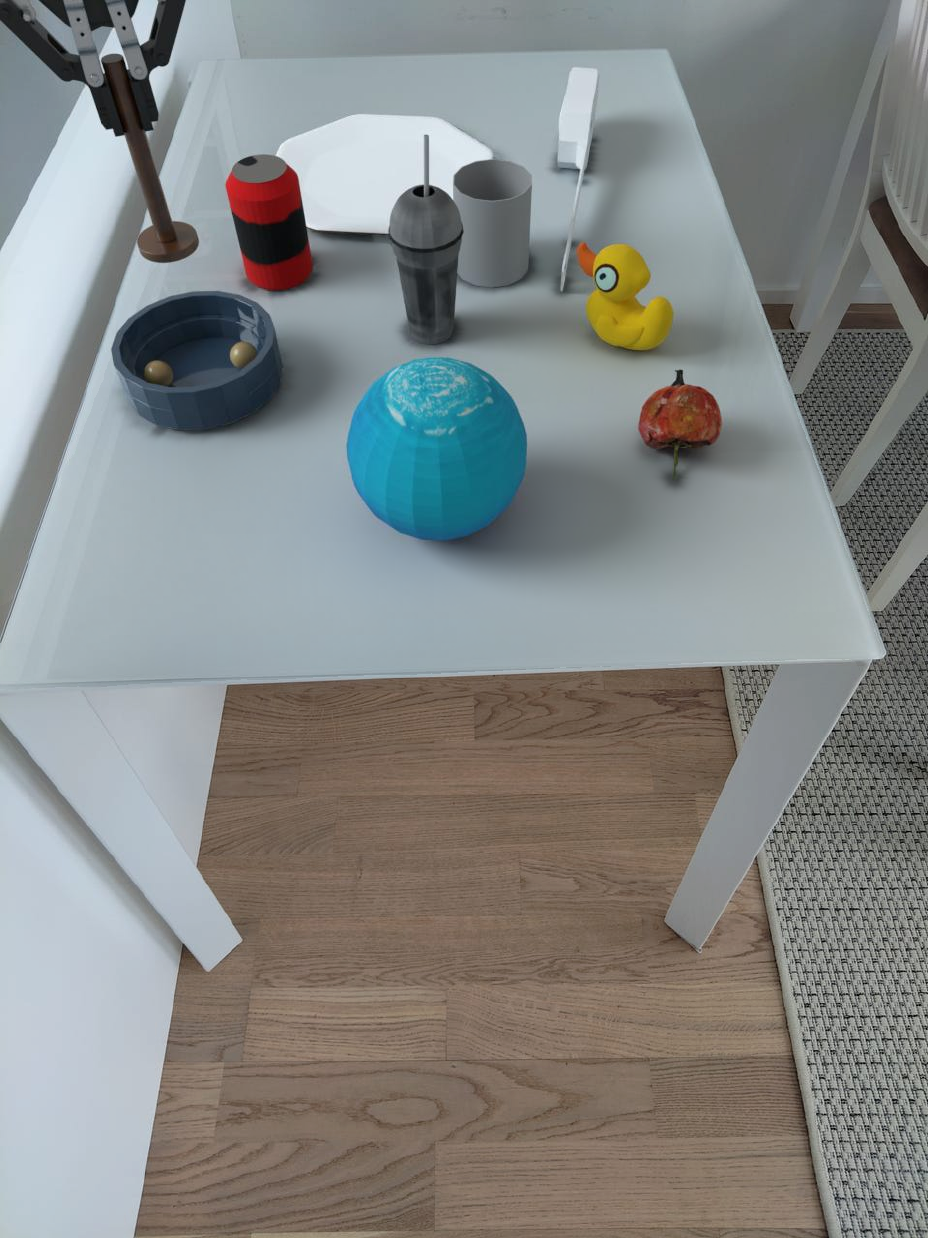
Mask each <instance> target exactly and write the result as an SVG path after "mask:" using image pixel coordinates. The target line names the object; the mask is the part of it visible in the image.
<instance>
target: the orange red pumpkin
mask: <svg viewBox="0 0 928 1238" xmlns="http://www.w3.org/2000/svg"><path fill="white" fill-rule="evenodd" d="M674 372H675V373H676V376H675V380H674V381H673V382H672V383H671V384H670V385H666V386H664V387H662V388H660V389H658V390H656V391H654V392H653V393H652V394H651V395H650V396H648V398H647V399H646V400H645V402H644V403H643V405H642V407H641V410H640V414H639V419H638V424H637V425H638V427H637V429H638V432H639V434H640V437H641V438H642V439H641V440H643V442H644V443H645V445H646V446H647V447H649V448H650V449H652V450H653V449H654V450H659V449H660V450H661V449H665V448H670V447H671V448H674V449H673V473H672V474H673V475H672V477H673V478H672V481H675V479H676V475H677V467H678V464H679V459H678V450H679V448H680V449H687V450H693V449H701V448H703V447H704V446H707V447H709V446H712V445H714V444H715V443H716V441H717V440H718V439H719V437H720V435H721V430H722V425H723V419H722V414H721V413H722V412H721V409H720V406H719V404H718V401H717V399H716V398H715V396H714V395H713V394H711V393H710V391H708V390H707V389H705V388H703V387H701V386H699V385H692V384H689V383H688V384H687V383H685V381H684V370H683V369H681V368H680V369H674Z"/></svg>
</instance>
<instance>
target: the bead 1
mask: <svg viewBox="0 0 928 1238" xmlns="http://www.w3.org/2000/svg"><path fill="white" fill-rule="evenodd" d="M144 379H145V381H146V382H148V383H152V384H157V385H161V386H166V387H169V386H170V385H171V383H172V381H173V372H172V369H171V368H170V366H169V365H168V364H166V363H165V362H163V361H158V360H157V361H152V362H150V363H149V364H147V365H146V367H145V369H144Z"/></svg>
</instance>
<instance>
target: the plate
mask: <svg viewBox="0 0 928 1238" xmlns="http://www.w3.org/2000/svg"><path fill="white" fill-rule="evenodd" d="M424 135H429V185H432V186H435V187H438V188H440V189H442V190H443V191H445V192H446V193H447V194H448V195H449V196H450V197H451V198H452V199H453V176H454V174H455V173H456V172H457V171H458V170H459V169H460V168H461V167H462V166H465V165H467V164H470V163H472V162H475V161H481V160H489V159H494V153H493V150H492V149H491V148H489V147H488V146H486V145H485V144H483V143H482V142H480V141H479V140H477V139H475V138H474V137H473V136H470V135H469V134H468V133H465V132H464V131H462V130H460V129H459V128H457V127H455V126H454V125H453V124H451V123H449V122H448V121H447V120H444V119H443V118H440V117H436V116H423V115H396V114H375V113H374V114H372V113H358V114H356V113H355V114H351V115H348V116H345V117H343V118H339V119H338V120H335V121H332V122H330V123H327V124H325V125H322V126H319V127H317V128H314V129H312V130H309V131H306V132H303V133H301V134H298V135H295V136H293V137H290V138H288V139H286V140H285V141H284V142H282V143H281V144H280V145H279V148H278V150H277V152H276V155H275V156H277V157H280V158H281V159H283V160H284V161H285V162H286V164H288V165H289V166H290V167H291V168H292V169H293V170H294V171H295V172H296V173H297V175H298V179H299V185H300V191H301V197H302V203H303V209H304V215H305V221H306V227H307V230H310V231H314V232H317V233H329V234H347V235H349V234H350V235H367V236H369V235H370V236H385V237H386V236H387V237H389V232H388V230H389V226H390V215H391V212H392V209H393V207H394V205H395V203H396V201H397V199H398V198H399V197H400V196H401V195H402V194H403V193H404V192H405V191H406V190H408V189H410V188H412V187H414V186H417V185H424Z"/></svg>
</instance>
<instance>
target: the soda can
mask: <svg viewBox="0 0 928 1238" xmlns="http://www.w3.org/2000/svg"><path fill="white" fill-rule="evenodd" d="M224 186H225V190H226V194H227V195H226V196H227V200H228V203H229V206H230V207H229V208H230V211H231V216H232V221H233V225H234V228H235V233H236V237H237V238H236V239H237V241H238V245H239V250H240V255H241V258H242V263H243V267H244V271H245V276H246V278H247V280H248V281H249V282H250V283H251V284H253V285H254V286H255V287H257V288H259V289H262V290H267V291H275V292H279V291H286V290H291V289H294V288H296V287H298V286H300V285H302V284H304V283H305V281H307V280H308V279H309V277H310V275H311V274H312V273H313V270H314V267H313V266H314V264H313V257H312V251H311V246H310V245H311V244H310V239H309V233H308V228H307V227H306V221H305V215H304V209H303V203H302V197H301V191H300V185H299V179H298V175H297V173H296V172H295V171H294V170H293V169H292V168H291V167H290V166H289V165H288V164H286V162H285V161H284V160H283V159H281V158H280V157H277V156H276V155H273V154H253V155H249V156H245V157H243V158H242V159H240V160H238V161H237V162H235V163H234V165H232V168H231V171H230V174H229V175H228V177H227V179H226V181H225V185H224Z"/></svg>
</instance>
